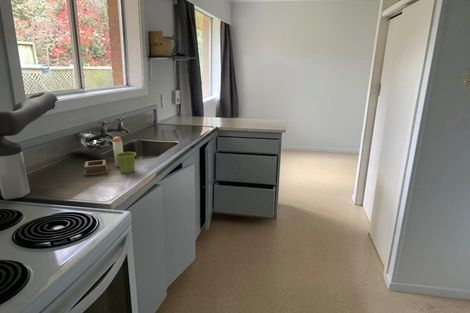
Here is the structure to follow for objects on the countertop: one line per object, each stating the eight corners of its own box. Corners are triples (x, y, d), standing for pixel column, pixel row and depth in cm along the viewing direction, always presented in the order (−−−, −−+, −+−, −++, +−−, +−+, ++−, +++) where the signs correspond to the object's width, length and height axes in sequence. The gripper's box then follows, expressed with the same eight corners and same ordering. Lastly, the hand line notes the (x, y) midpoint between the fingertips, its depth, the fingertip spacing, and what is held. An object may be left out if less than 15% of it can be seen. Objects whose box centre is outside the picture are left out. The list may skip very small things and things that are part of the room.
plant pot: (116, 169, 156) (114, 152, 153) (136, 167, 160) (134, 150, 157) (117, 175, 148) (115, 158, 145) (138, 173, 151) (137, 155, 149)
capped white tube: (124, 166, 161) (121, 137, 157) (115, 167, 160) (112, 137, 155) (124, 163, 165) (121, 135, 161) (115, 164, 163) (112, 136, 159)
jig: (107, 173, 151) (106, 165, 150) (84, 175, 148) (83, 167, 147) (107, 166, 160) (106, 159, 159) (85, 169, 157) (84, 161, 156)
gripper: (77, 136, 168) (93, 141, 159) (102, 132, 179) (118, 136, 170) (79, 150, 170) (95, 155, 161) (103, 145, 181) (120, 149, 172)
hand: (107, 145), depth 165 cm, fingers open, 8 cm apart
